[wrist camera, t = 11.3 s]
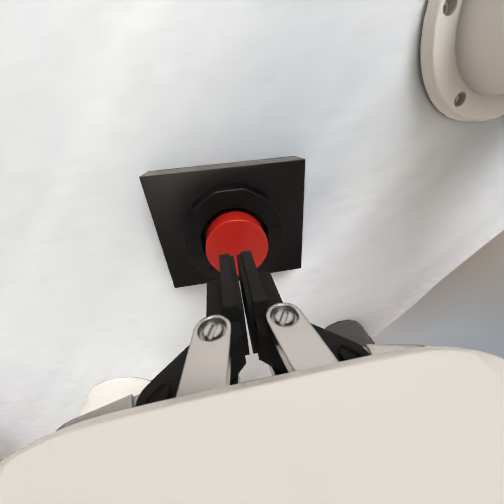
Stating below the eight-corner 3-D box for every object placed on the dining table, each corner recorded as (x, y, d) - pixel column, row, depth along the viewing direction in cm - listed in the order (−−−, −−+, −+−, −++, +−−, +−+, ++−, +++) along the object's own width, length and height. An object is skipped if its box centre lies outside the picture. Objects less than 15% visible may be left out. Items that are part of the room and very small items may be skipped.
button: (261, 207, 15) (267, 215, 13) (264, 258, 17) (269, 270, 15) (201, 214, 14) (199, 224, 13) (211, 266, 16) (211, 279, 15)
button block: (294, 156, 17) (316, 162, 13) (293, 256, 21) (308, 280, 18) (147, 171, 16) (129, 182, 12) (178, 273, 20) (171, 303, 17)
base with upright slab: (69, 393, 26) (-28, 571, 15) (141, 368, 26) (93, 530, 15) (116, 425, 30) (65, 579, 20) (177, 403, 30) (159, 547, 20)
